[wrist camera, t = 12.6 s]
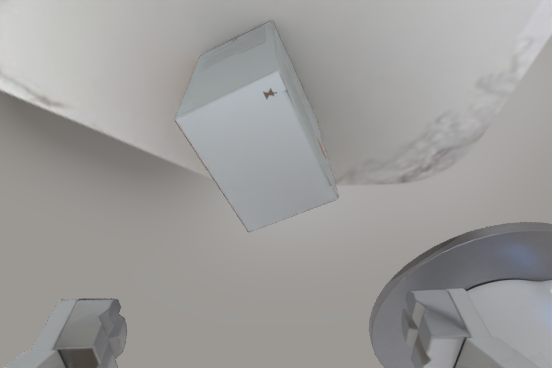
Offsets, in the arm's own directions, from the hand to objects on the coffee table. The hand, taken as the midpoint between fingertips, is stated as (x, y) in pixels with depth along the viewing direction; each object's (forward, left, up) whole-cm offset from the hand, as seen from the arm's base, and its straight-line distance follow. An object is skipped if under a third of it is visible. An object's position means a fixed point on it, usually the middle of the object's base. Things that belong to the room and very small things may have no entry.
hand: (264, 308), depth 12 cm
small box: (0, +1, -20) cm, 21 cm away
